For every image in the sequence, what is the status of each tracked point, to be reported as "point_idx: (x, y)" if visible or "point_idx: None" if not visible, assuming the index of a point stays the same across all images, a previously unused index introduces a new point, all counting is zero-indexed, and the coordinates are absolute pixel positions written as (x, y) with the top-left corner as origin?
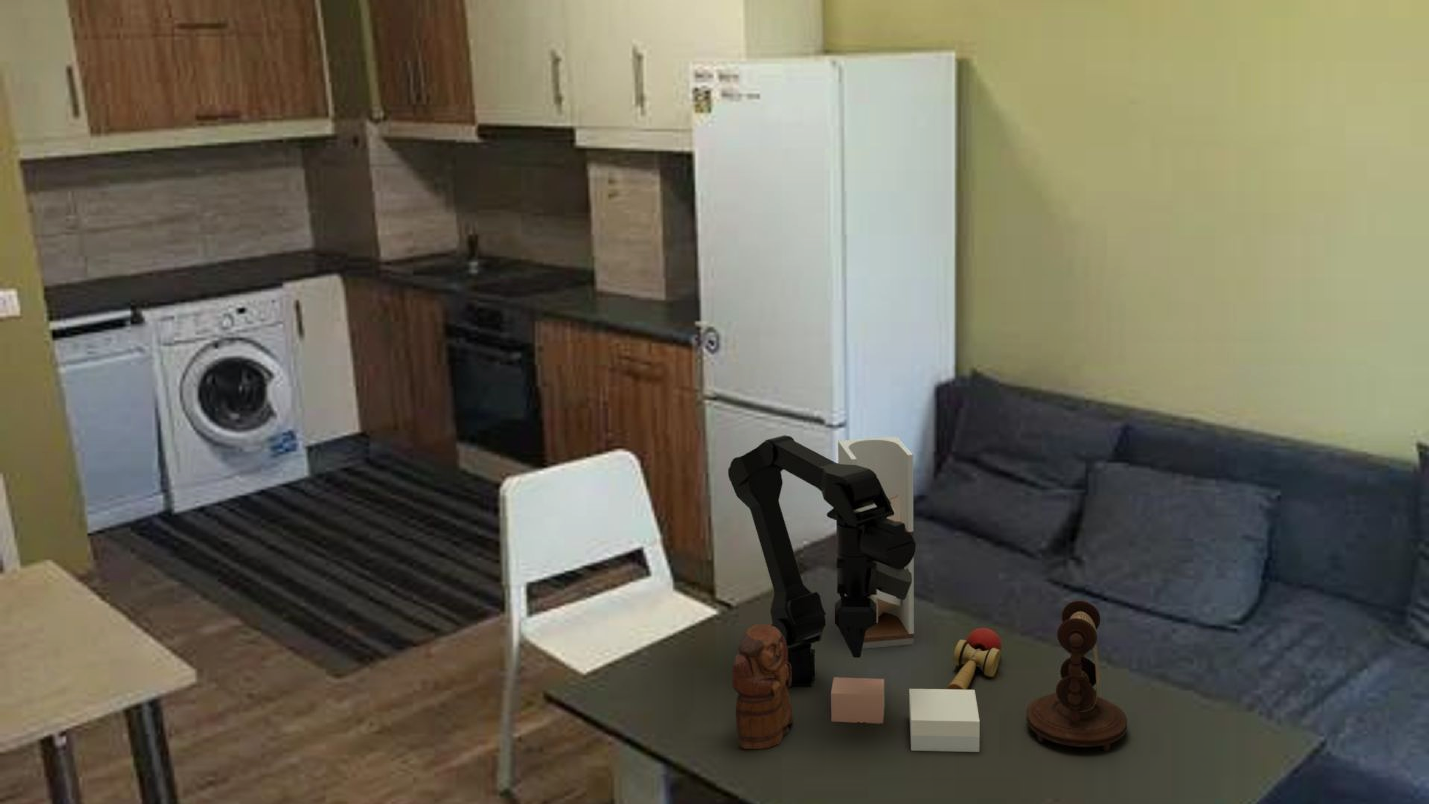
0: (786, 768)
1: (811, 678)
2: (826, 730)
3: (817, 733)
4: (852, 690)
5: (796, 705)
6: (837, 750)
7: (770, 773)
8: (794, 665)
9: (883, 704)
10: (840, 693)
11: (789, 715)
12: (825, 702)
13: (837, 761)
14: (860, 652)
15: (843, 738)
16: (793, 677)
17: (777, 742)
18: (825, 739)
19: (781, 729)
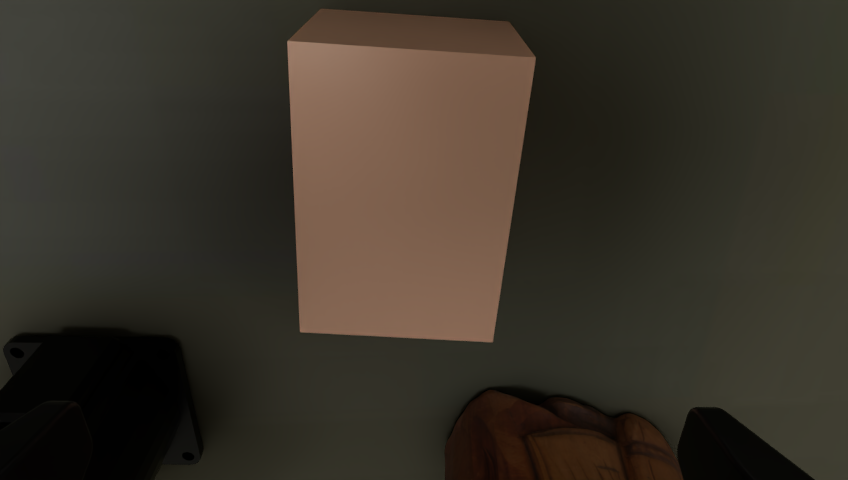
0: (819, 390)
1: (124, 347)
2: (557, 274)
3: (579, 304)
4: (463, 240)
5: (347, 378)
6: (733, 230)
7: (836, 430)
8: (145, 462)
9: (423, 27)
10: (496, 299)
11: (562, 441)
12: None
13: (824, 230)
14: (770, 453)
15: (635, 208)
16: (168, 420)
17: (655, 430)
18: (632, 276)
19: (649, 451)
